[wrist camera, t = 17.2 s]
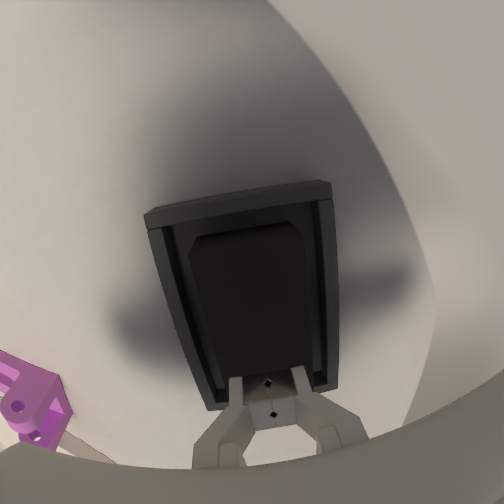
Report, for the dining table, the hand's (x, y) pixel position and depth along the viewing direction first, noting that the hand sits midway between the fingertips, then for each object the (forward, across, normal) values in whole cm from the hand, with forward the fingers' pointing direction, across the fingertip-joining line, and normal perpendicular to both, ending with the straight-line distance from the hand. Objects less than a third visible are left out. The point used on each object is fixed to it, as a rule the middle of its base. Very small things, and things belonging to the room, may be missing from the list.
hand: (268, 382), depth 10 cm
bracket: (+7, +25, +5) cm, 26 cm away
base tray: (+6, 0, 0) cm, 7 cm away
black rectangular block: (+6, 0, 0) cm, 6 cm away
